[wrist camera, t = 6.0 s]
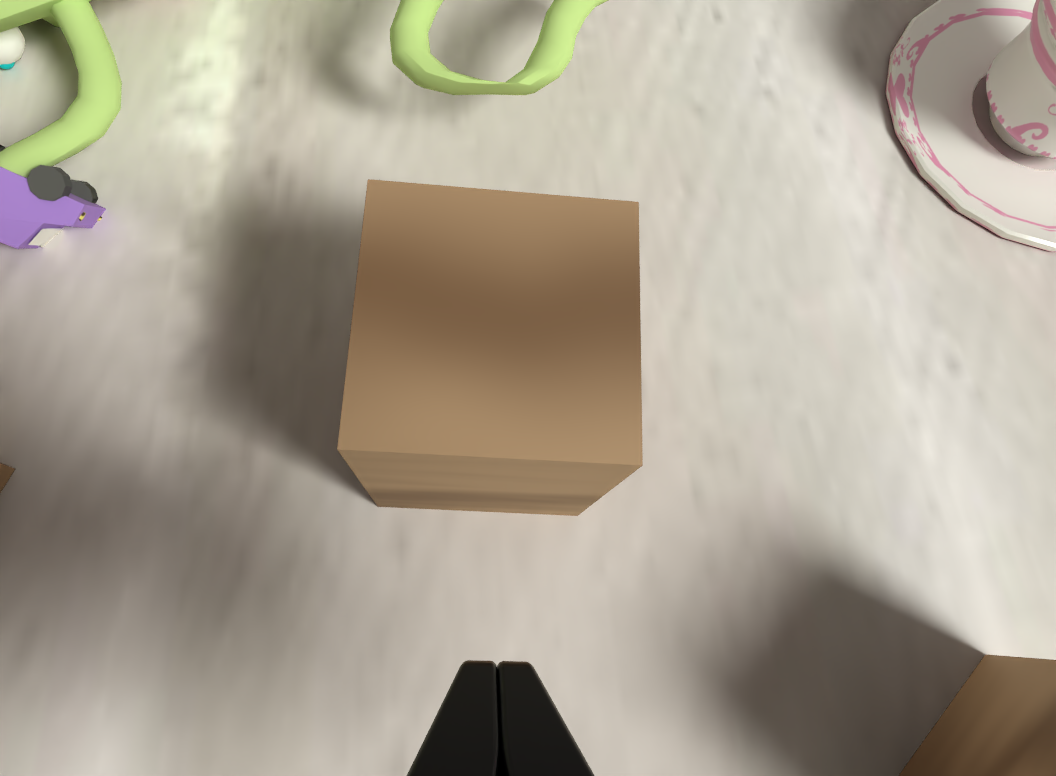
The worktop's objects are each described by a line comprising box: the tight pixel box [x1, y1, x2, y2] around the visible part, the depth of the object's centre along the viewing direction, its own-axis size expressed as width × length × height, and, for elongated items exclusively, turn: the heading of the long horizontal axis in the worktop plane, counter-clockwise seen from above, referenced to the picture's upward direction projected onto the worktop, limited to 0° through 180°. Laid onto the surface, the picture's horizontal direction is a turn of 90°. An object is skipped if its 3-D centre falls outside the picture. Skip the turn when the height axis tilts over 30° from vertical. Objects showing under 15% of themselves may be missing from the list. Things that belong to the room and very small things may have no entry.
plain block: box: [337, 179, 642, 516], centre depth 19 cm, size 6×6×8 cm
